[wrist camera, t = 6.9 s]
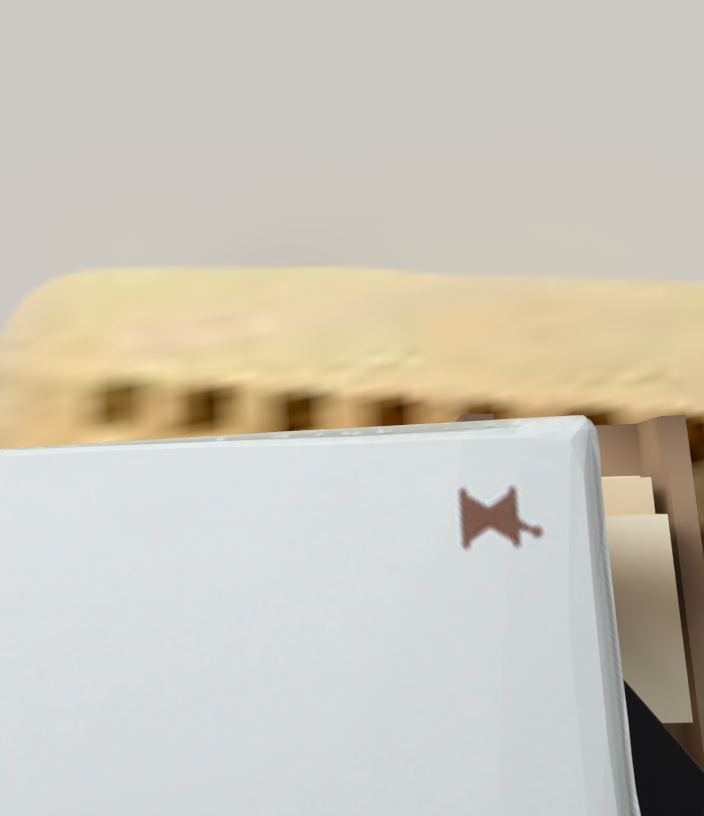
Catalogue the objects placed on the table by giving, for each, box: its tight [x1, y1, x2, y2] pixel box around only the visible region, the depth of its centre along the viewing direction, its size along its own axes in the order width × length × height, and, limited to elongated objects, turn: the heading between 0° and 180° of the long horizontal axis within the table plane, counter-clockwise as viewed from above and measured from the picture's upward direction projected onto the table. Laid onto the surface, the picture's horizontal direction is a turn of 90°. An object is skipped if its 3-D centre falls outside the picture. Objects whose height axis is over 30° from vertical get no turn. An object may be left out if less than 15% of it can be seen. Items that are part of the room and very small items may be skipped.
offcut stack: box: [601, 476, 693, 723], centre depth 19 cm, size 8×5×4 cm, turn 2°
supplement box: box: [0, 415, 641, 816], centre depth 10 cm, size 7×7×13 cm
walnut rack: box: [456, 414, 704, 770], centre depth 19 cm, size 12×8×5 cm, turn 2°
